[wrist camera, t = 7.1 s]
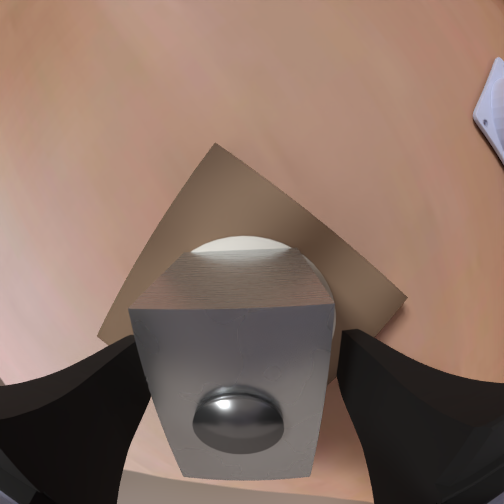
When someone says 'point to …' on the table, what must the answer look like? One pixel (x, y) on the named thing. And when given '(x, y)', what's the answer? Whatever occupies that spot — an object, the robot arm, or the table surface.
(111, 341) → the stand
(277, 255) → the housing
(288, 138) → the table surface
